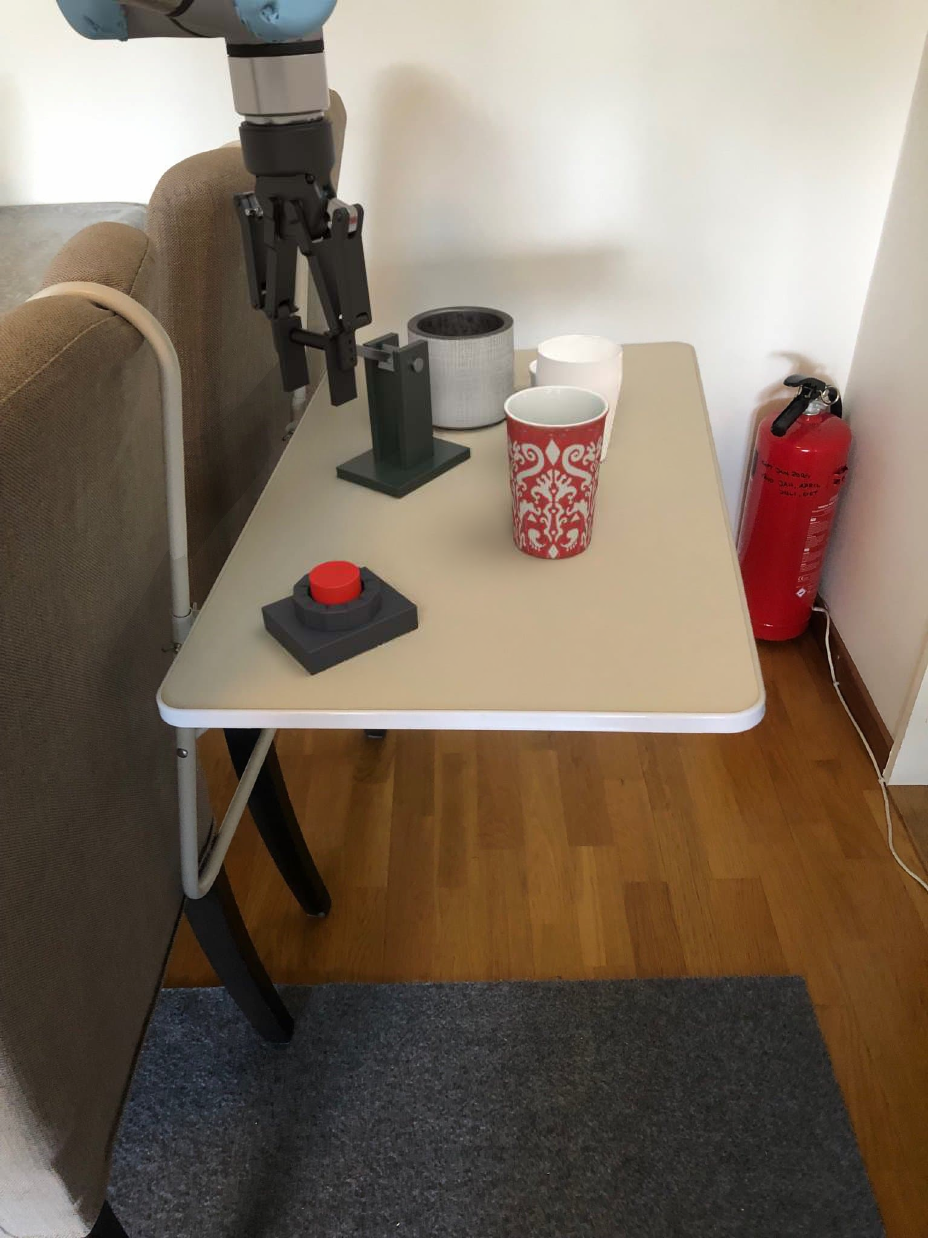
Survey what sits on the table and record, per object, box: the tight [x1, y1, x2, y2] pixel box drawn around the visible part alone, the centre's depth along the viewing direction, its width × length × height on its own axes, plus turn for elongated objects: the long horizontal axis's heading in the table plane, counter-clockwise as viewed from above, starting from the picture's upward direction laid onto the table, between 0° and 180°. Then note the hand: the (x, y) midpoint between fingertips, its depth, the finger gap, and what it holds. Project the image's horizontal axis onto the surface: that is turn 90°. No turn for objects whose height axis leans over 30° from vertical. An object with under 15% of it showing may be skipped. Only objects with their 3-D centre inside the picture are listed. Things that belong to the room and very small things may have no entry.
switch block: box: [261, 566, 419, 676], centre depth 75 cm, size 10×8×4 cm
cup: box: [536, 334, 623, 463], centre depth 98 cm, size 9×9×12 cm
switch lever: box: [289, 327, 400, 372], centre depth 89 cm, size 14×5×2 cm, turn 142°
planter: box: [406, 305, 516, 431], centre depth 109 cm, size 13×13×11 cm
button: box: [309, 560, 362, 605], centre depth 73 cm, size 4×4×2 cm
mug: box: [503, 386, 610, 560], centre depth 84 cm, size 13×9×14 cm
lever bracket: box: [335, 331, 472, 499], centre depth 96 cm, size 12×9×14 cm
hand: (320, 393), depth 87 cm, fingers open, 6 cm apart
